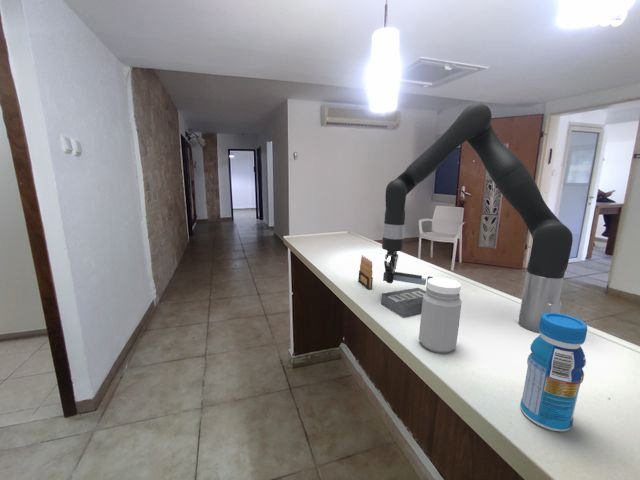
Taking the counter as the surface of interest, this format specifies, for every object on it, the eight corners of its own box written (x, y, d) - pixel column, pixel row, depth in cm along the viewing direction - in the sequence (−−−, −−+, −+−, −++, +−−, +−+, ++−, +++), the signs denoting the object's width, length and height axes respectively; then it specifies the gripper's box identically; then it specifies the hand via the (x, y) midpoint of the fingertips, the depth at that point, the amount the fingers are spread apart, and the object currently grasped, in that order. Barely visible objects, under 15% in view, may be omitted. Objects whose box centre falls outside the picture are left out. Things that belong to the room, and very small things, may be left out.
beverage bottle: (509, 407, 62) (525, 313, 58) (535, 396, 66) (552, 307, 62) (555, 440, 55) (577, 334, 51) (582, 425, 58) (605, 325, 54)
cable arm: (424, 287, 112) (425, 277, 111) (383, 280, 118) (383, 271, 117) (425, 285, 114) (426, 275, 114) (384, 278, 120) (385, 269, 120)
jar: (438, 334, 91) (445, 275, 88) (464, 351, 82) (473, 286, 79) (410, 338, 88) (416, 277, 84) (434, 357, 79) (442, 290, 75)
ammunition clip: (372, 289, 126) (374, 261, 124) (367, 290, 126) (369, 261, 124) (362, 281, 136) (363, 254, 134) (358, 281, 136) (359, 254, 134)
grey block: (442, 309, 109) (445, 282, 107) (403, 317, 101) (406, 288, 99) (418, 297, 120) (420, 272, 118) (380, 304, 112) (382, 277, 110)
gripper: (400, 240, 105) (396, 289, 108) (407, 234, 116) (403, 279, 120) (378, 238, 108) (375, 286, 111) (387, 232, 120) (383, 276, 123)
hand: (389, 282), depth 115 cm, fingers closed
